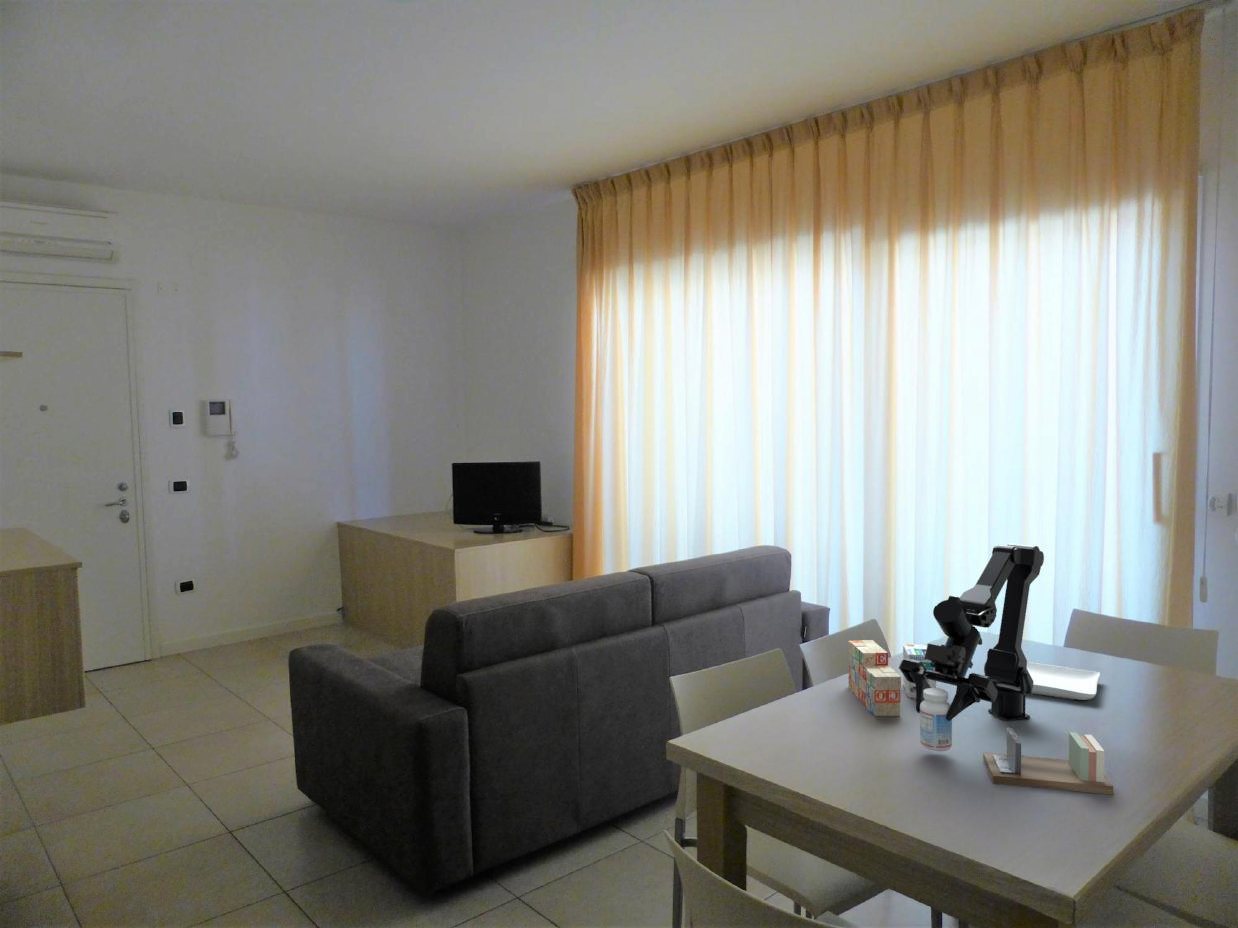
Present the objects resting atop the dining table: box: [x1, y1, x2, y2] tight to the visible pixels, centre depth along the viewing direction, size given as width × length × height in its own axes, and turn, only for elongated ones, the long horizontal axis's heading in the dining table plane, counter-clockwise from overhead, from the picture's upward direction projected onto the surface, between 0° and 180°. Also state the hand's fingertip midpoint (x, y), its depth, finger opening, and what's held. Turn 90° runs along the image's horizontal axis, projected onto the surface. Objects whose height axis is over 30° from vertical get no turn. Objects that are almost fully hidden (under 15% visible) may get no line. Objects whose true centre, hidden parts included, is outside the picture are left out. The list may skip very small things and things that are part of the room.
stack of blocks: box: [847, 639, 902, 717], centre depth 202 cm, size 21×6×12 cm, turn 0°
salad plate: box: [1027, 661, 1101, 701], centre depth 212 cm, size 21×21×3 cm
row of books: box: [1068, 731, 1106, 782], centre depth 157 cm, size 8×4×6 cm, turn 166°
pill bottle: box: [919, 687, 953, 752], centre depth 169 cm, size 6×6×11 cm
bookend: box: [993, 727, 1022, 775], centre depth 160 cm, size 8×4×6 cm, turn 166°
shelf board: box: [982, 752, 1114, 795], centre depth 159 cm, size 11×20×2 cm, turn 76°
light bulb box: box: [902, 643, 937, 699], centre depth 209 cm, size 11×7×11 cm, turn 168°
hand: (932, 715), depth 168 cm, fingers closed on pill bottle, 6 cm apart
